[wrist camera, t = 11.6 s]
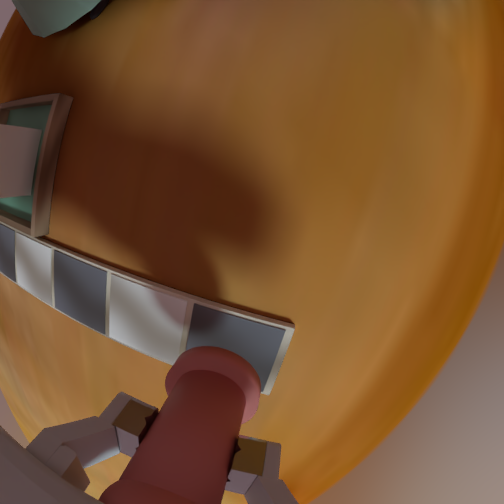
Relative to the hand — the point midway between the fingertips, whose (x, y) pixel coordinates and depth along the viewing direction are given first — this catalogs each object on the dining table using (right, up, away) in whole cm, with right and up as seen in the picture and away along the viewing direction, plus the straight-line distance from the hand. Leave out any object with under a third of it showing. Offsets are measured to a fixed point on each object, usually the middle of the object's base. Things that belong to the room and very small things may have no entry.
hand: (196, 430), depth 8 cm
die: (-17, +14, +7) cm, 22 cm away
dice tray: (-16, +14, +7) cm, 23 cm away
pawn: (0, +1, +3) cm, 3 cm away
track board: (-10, +4, +8) cm, 13 cm away
